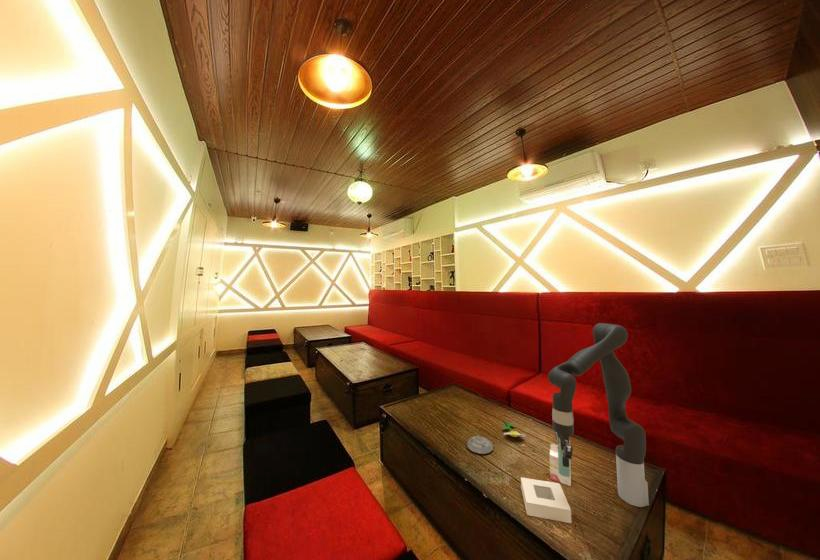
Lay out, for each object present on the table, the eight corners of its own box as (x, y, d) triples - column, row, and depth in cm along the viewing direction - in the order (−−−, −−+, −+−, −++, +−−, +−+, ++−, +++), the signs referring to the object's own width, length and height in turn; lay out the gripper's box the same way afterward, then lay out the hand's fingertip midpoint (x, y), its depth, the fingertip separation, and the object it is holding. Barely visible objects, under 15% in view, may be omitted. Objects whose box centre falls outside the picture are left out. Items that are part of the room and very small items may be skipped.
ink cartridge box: (550, 479, 121) (548, 448, 121) (550, 473, 125) (549, 442, 126) (571, 486, 116) (569, 453, 117) (571, 479, 121) (569, 448, 121)
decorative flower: (494, 423, 177) (506, 442, 148) (493, 415, 178) (506, 433, 149) (512, 424, 176) (529, 444, 147) (512, 416, 177) (528, 435, 147)
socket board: (560, 495, 112) (559, 483, 112) (571, 523, 98) (571, 509, 99) (521, 488, 116) (520, 477, 116) (526, 515, 102) (526, 501, 103)
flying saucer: (495, 457, 138) (494, 447, 138) (466, 454, 141) (466, 444, 141) (491, 441, 152) (491, 432, 153) (466, 439, 155) (466, 430, 156)
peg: (568, 470, 105) (567, 441, 106) (571, 477, 101) (570, 446, 102) (557, 468, 106) (556, 439, 107) (560, 475, 102) (559, 445, 103)
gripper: (580, 430, 97) (581, 476, 96) (566, 412, 111) (567, 453, 110) (558, 427, 99) (559, 473, 98) (547, 411, 112) (548, 450, 112)
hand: (563, 462), depth 104 cm, fingers closed on peg, 4 cm apart
